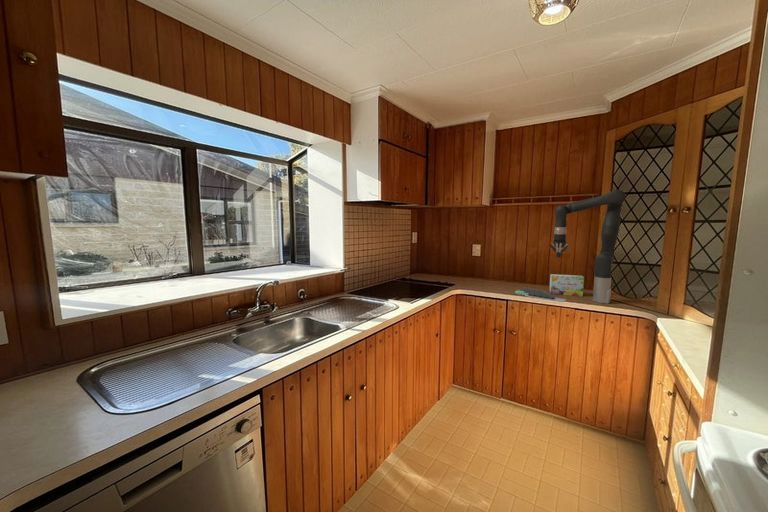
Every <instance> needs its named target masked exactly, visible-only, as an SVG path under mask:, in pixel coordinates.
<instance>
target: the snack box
mask: <svg viewBox="0 0 768 512" xmlns="http://www.w3.org/2000/svg"><path fill="white" fill-rule="evenodd" d="M549 275H550V277H549V290H548V293H550V294H551V295H554V296H555V295H556V296H557V295H559V296H570V297H583V295H584V284H585V283H584V282H585V276H583V275H576V274H575V275H574V274H557V273H556V274H554V273H550V274H549Z"/></svg>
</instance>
